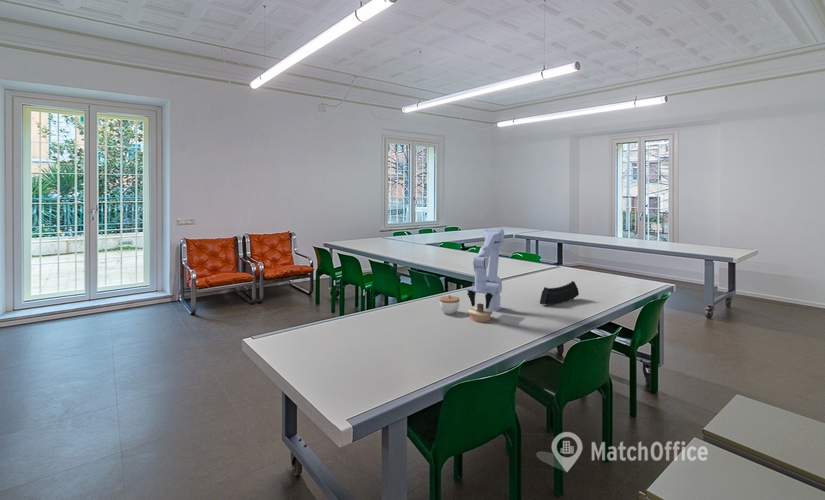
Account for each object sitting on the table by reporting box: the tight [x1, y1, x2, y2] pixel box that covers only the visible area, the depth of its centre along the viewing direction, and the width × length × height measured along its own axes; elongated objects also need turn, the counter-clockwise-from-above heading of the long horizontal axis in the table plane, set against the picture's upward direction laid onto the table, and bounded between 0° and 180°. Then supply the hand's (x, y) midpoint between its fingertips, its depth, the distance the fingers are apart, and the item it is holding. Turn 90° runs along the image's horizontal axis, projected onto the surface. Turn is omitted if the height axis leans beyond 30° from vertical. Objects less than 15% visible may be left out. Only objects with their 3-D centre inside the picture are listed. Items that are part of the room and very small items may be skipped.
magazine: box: [539, 280, 580, 305], centre depth 247 cm, size 17×3×30 cm
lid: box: [467, 303, 493, 316], centre depth 216 cm, size 12×12×4 cm
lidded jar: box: [439, 294, 460, 315], centre depth 228 cm, size 11×11×9 cm
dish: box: [469, 314, 491, 323], centre depth 216 cm, size 10×10×4 cm
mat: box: [494, 313, 526, 325], centre depth 215 cm, size 12×12×1 cm
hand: (480, 307), depth 215 cm, fingers open, 7 cm apart
